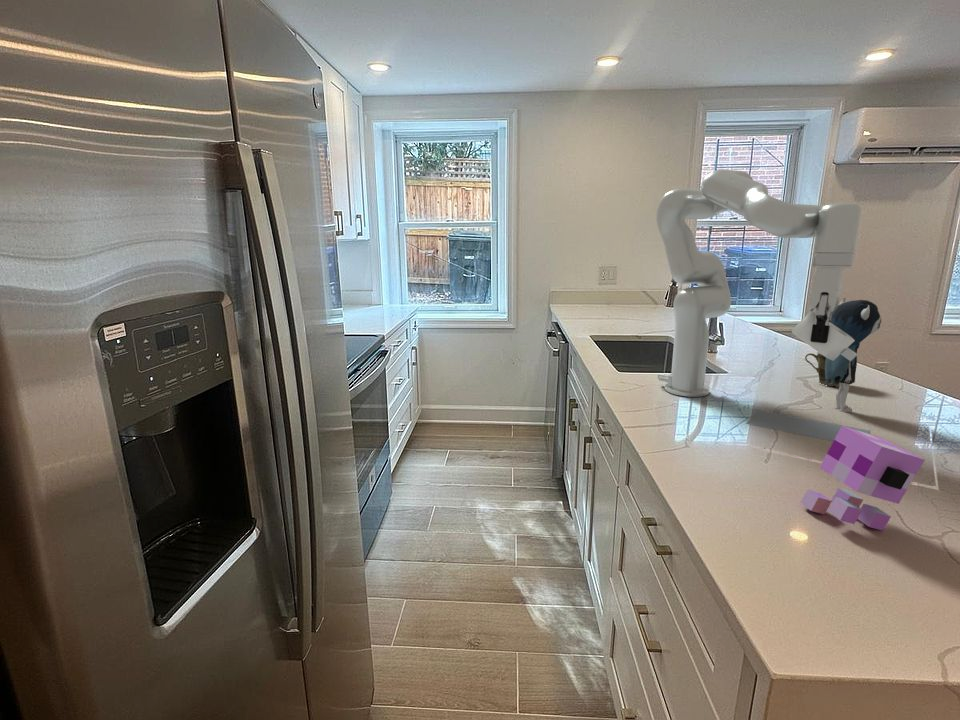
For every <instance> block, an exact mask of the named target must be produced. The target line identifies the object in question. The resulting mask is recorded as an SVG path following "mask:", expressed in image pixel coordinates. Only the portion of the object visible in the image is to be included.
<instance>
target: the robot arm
mask: <svg viewBox="0 0 960 720" xmlns="http://www.w3.org/2000/svg"><path fill="white" fill-rule="evenodd" d="M726 211H731V212H733V213H735V214H738V215H740V216H742V217H743V218H744V219H745V221H746V222H747V223H748V224H750V225H751V226H753V227H755V228H757V229H759V230H760V231H761V230H762V231H763V232H765V233H768V234H770V235H772V236H775V237H778V238H783V239H795V238H796V239H809V238H810V239H812V238H815V242H814V249H813V255H812V262H811V268H815V273H814V276H813V282H812V288H811V293H810V297H809V299H810V300H809V303H808V309H807V310H808V311H809V312H810V311H813V312H815V319H814V324H813V326H812V333H811V340H810V341H811V342H818V343H827V340H828V334H829V327H830V326H828V324H829V322H830V323H831V321H832V314H833V311H835V310H836V308H837V306H839V303H840V298H841V294H842V288H843V284H844V277H845V272H846V269H852V268H853V262H854V257H855V256H854V255H855V252H856V251H855V250H856V246H857V245H856V244H857V238H858V232H859V226H860V220H861V213H862V208H861V205H859V204H858V203H851V202H850V203H829V204H826V205H817V204H800V203H799V204H798V203H790V202H786V201H783V200H781V199H778V198H776V197H774V196H771V195H769V189H768V187H767V185H766V184H765V183H761V182H760V181H756V180H754V179H753V177H752V175H750V174H749V173H747V172H746V171H743V170H733V169H716V170H713V171H711V172H709V173H708V174H707V175H706V176H705V177H704V179H703V180H702V182H701V185H700V188H676V189H672V190H670V191H668V192H666V193H665V194H664V195H663V196H662V197H661V199H660V201H659V202H658V205H657V209H656V214H655V216H656V218H655V219H656V225H657V228H658V231H659V234H660V236H661V239H662V241H663V242H662V243H663V245H664V251H665V255H666V259H667V262H668V268H669V271H670V275H671V277H672V280H673V281H674V282H676V283H677V284H679V285H680V284H681V285H691V284H692V285H693V284H696V285H697V286H690V287H685V288H683V289H681V290H680V291H679V292H678V293H677V294H676V295H675V297H674V300H673V305H672V307H673V316H674V336H673V337H674V338H673V350H672V360H671V373H669V374H666V373H661V372H659V373H658V374H657V380H658V381H660V382H665V384H664V391H666V392H668V393H670V394H673V395H676V396H682V397H691V398H698V397H699V398H700V397H705V396H707V395H709V394H710V389H709V387H708V386H706V385H705V381H706V370H707V363H708V362H707V360H708V352H709V342H710V341H709V340H710V331H709V330H710V329H709V326H708V324H707V320H706V319H713V318H718V317H722V316H724V315H725V314H726V313H727V312H728V311H729V310H730V308H731V305H732V296H731V295H732V294H731V291H730V288H729V283H728V279H727V275H726V271H725V267H724V265H723V262H722V260H721V259H720V257H719V256H718V255H717V254H716V253H714V252H712V251H707V250H699V249H698V246H697V243H696V238H695V235H694V233H693V231H692V230H691V228H690V227H689V225H688V224H687V223H686V221H685V220H706V219H709V218H712V217H715V216H717V215H720V214H722V213H723V212H726ZM814 310H815V311H814Z"/></svg>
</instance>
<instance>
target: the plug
mask: <svg viewBox="0 0 960 720" xmlns="http://www.w3.org/2000/svg"><path fill="white" fill-rule="evenodd" d="M815 312H816V311H814V310H813V311H809V312H808V313H807V314H806V315H805V316H804V317H803V318H802V319H801V320H800V321H799V322H798V323H797V324H796V325H795V326H794V327H793V328H792V329H791V333H792V334H793V335H794V336H796V338H798V339H800V340H801V341H802V342H803V343H805V344H807V345H808V346H809V347H811V348H812V349H813V350H815V351H817V352H819V353H821V354H822V355H823V356H825V357H826V358H828V359H830V360H832V361H834V360H835V359H836V358H837V357H838V356H839V355H840V354H841V355H842V356H844V357H845V358H847V359H848V360H849V361H851V360H853V359H854V358H855V357H856V356H857V357H858V352H857V353H855V352H854V351H852V350H851V349H849V348H848V347H849V346H850V345H851V344H852V343H853V342H854V341H855V340H854V339H853V338H852V337H851V336H850V335H848V334H847V333H845V332H844V331H842V330H841V329H839V328H838V327H836V326H835V325H833V324H832V323H830V322H829V324H828V326H830V327H829V334H828V340H827V343H818V342H811V341H810V340H811V333H812V326H813V324H814V319H815Z"/></svg>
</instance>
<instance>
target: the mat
mask: <svg viewBox="0 0 960 720" xmlns="http://www.w3.org/2000/svg"><path fill="white" fill-rule="evenodd" d="M746 425H751V426H755V427H761V428H765V429H771V430H775V431H781V432H785V433H789V434H794V435H801V436H804V437H805V436H806V437H810V438H814V439H820V440H825V441H830V442H833V441H834V439H835V437H836V436H837V434H838V432H839V430H840V428H841V426H845V427H848V428H851V429H854V430H857V431H861V432H864V433H867V434H870V430H869V429H863V428H860V427H859V428H858V427H853V426H848V425H847V426H846V425H842V424H836V423H830V422H825V421H820V420H814V419H809V418H802V417H798V416H793V415H789V414H788V415H787V414H781V413H776V412H772V411H771V412H770V411H765V410H761V409H757V410H756V411H755V413H754V414H753V415H752V416H751V417H750V418H749V419H748V421H747V422H746Z"/></svg>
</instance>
